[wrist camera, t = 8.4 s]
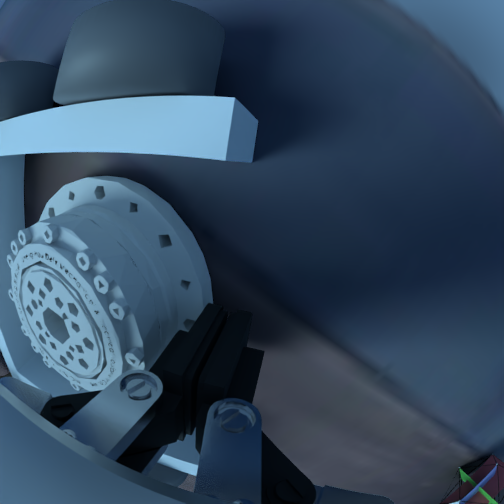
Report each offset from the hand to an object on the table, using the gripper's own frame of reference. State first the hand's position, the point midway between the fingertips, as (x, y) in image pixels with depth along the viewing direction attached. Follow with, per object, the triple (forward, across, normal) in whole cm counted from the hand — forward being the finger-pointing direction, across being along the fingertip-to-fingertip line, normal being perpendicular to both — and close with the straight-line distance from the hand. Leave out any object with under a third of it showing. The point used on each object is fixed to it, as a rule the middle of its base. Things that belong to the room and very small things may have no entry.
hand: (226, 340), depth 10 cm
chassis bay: (+1, +7, 0) cm, 7 cm away
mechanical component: (+2, +6, 0) cm, 6 cm away
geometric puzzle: (+1, -23, +13) cm, 27 cm away
